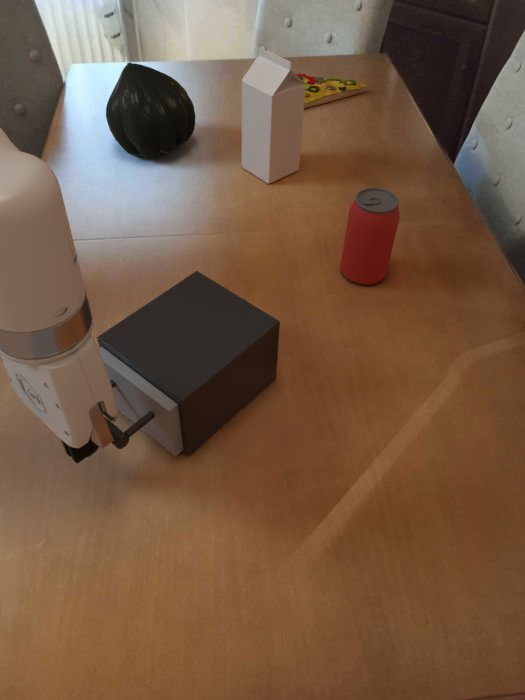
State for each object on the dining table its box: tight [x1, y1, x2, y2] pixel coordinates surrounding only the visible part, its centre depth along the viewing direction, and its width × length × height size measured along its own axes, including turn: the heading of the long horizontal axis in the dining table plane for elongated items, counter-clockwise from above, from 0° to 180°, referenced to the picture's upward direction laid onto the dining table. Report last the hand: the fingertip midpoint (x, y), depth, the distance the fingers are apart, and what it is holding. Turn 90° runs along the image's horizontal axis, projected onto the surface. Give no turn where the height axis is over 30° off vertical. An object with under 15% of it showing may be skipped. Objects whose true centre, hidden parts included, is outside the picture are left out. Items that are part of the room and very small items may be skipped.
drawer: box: [98, 346, 183, 457], centre depth 64 cm, size 18×11×8 cm, turn 139°
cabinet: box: [96, 270, 281, 458], centre depth 66 cm, size 15×13×10 cm
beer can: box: [340, 187, 401, 286], centre depth 81 cm, size 7×7×12 cm
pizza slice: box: [295, 73, 369, 109], centre depth 123 cm, size 16×21×3 cm
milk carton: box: [241, 47, 306, 185], centre depth 96 cm, size 7×7×19 cm
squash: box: [105, 62, 196, 160], centre depth 103 cm, size 14×15×15 cm
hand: (85, 449), depth 59 cm, fingers closed
